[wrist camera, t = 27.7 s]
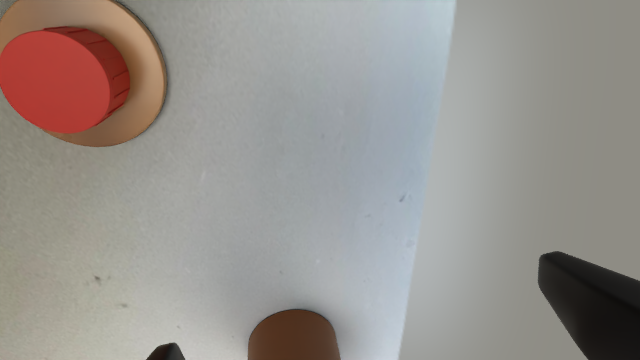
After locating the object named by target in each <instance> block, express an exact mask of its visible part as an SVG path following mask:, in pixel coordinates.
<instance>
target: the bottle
mask: <svg viewBox="0 0 640 360" xmlns="http://www.w3.org/2000/svg"><path fill="white" fill-rule="evenodd" d="M248 360H341V358H340V354H339V349H338V345H337V340H336V336H335V332H334V329H333V327H332V326H331V324H330V323H329V322H328V321H327V320H326V319H325V318H324V317H322V316H320V315H318V314H316V313H314V312H310V311H306V310H288V311H283V312H279V313H276V314H274V315H272V316H270V317H268V318H266V319H265V320H263V321H262V322H261V323H260V324H259V325H258V326H257V327H256V328H255V329H254V331H253V332H252V334H251V336H250V339H249V345H248Z"/></svg>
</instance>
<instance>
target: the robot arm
mask: <svg viewBox="0 0 640 360" xmlns="http://www.w3.org/2000/svg"><path fill="white" fill-rule="evenodd" d="M538 284H539V287H540V289H541V291H542V293H543V294H544V296H545V297H546V299H547V300H548V302H549V303H550V305H551V307H552V308H553V310H554V311H555V313H556V314H557V316H558V317H559V319H560V320H561V322H562V323H563V325H564V326H565V328H566V329H567V331H568V333H569V334H570V336H571V337H572V339H573V340H574V341H575V343H576V344H577V346H578V347H579V348H580V350H581V351H582V352H583V354H584V355H585V356H586V357H587V359H588V360H640V281H638V280H635V279H633V278H630V277H628V276H625V275H622V274H619V273H617V272H614V271H611V270H608V269H606V268H603V267H600V266H598V265H595V264H592V263H590V262H587V261H584V260H581V259H579V258H576V257H573V256H570V255H568V254H565V253H562V252H559V251H555V252H551V253H546V254H543V255H541V257H540V259H539V270H538ZM146 360H185V358H184V356H183V354H182V352H181V350H180V348H179V346H178V345H177V344H176V343H168V344H164V345H160V346H158V347H157V348H156V349H155V350H154V351H153V352H152V353H151V354H150V356H149V357H148V358H147V359H146Z"/></svg>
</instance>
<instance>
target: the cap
mask: <svg viewBox="0 0 640 360" xmlns="http://www.w3.org/2000/svg"><path fill="white" fill-rule="evenodd" d="M0 86H1V89H2V91H3V93H4V95H5V97H6V99H7V100H8V102H9V103H10V105H11V106H12V107H13V108H14V109H15V110H16V111H17V112H18V113H19V114H20V115H21V116H22V117H23V118H25V119H26V120H27V121H29V122H31V123H32V124H34V125H36V126H38V127H40V128H43V129H45V130H48V131H52V132H57V133H77V132H82V131H85V130H88V129H90V128H91V127H93V126H97V125H98V124H100V123H101V122H103V121H104V120H105V119H107V118H108V117H110V116H111V115H112V113H113V112H114V111H116V110H117V109H118V108H120V107H121V106H123V105H124V101H125V100H126V98H127V95H128V92H129V90H130V77H129V71H128V68H127V65H126V63H125V61H124V59H123V57H122V56H121V53H119V51H118V50H117V49H116V48H115V47H114V46H113V45H112V44H111V43H110V42H109V41H108V40H107V39H106V38H104V37H102V36H100V35H98V34H97V33H94V32H92V31H89V30H88V29H86V28H85V29H82V28H76V27H68V26H60V27H50V28H42V30H38V31H31V32H26V33H24V34H21V35H19V36H17V37H15V38H14V39H13V40H11V41H10V42H9V43H8V44H7V45H6V46H5V48H4V49H3V51H2V53H1V55H0Z"/></svg>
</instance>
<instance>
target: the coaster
mask: <svg viewBox="0 0 640 360" xmlns="http://www.w3.org/2000/svg"><path fill="white" fill-rule="evenodd" d="M60 26H68V27H76V28H82V29H85V28H86V29H88V30H89V31H92V32H94V33H97V34H98V35H100V36H102V37H104V38H106V39H107V40H108V41H109V42H110V43H111V44H112V45H113V46H114V47H115V48H116V49H117V50H118V51H119V53H121V56H122V57H123V59H124V61H125V63H126V65H127V68H128V71H129V77H130V90H129V92H128V95H127V98H126V100H125V101H124V105H123V106H121V107H120V108H118V109H117V110H116V111H114V112H113V113H112V115H111V116H110V117H108V118H107V119H105V120H104V121H103V122H101V123H100V124H98V125H97V126H93V127H91V128H90V129H88V130H85V131H82V132H77V133H57V132H52V131H48V130H45V129H43V128H40V127H39V128H40V129H42V130H43V131H45V132H47V133H48V134H50V135H52V136H54V137H56V138H59V139H61V140H64V141H66V142H70V143H73V144H77V145H83V146H91V147H105V146H112V145H117V144H120V143H124V142H126V141H129V140H131V139H133V138H135V137H136V136H138V135H139V134H141V133H142V132H143V131H144V130H146V129H147V128H148V127H149V126H150V125H151V123H152V122H153V121H154V120H155V119H156V117H157V116H158V114H159V112H160V111H161V108H162V106H163V104H164V100H165V96H166V90H167V73H166V67H165V63H164V59H163V56H162V53H161V51H160V49H159V47H158V44H157V43H156V41H155V39H154V38H153V36H152V34H151V33H150V32H149V30H148V29H147V28H146V26H145V25H144V24H143V23H142V22H141V21H140V20H139V19H138V18H137V17H136V16H135V15H134V14H133V13H132V12H131V11H129V10H128V9H127V8H126V7H124V6H123V5H121V4H120V3H118V2H117V1H115V0H17V1H16V2H14V3H13V4H12V6H11V7H10V8H9V9H8V10H7V11H6V12H5V14H4V15H3V17H2V18H1V21H0V55H1V53H2V51H3V49H4V48H5V46H6V45H7V44H8V43H9V42H10V41H11V40H13V39H14V38H15V37H17V36H19V35H21V34H24V33H26V32H31V31H38V30H42V28H50V27H60ZM37 127H38V126H37Z"/></svg>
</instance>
